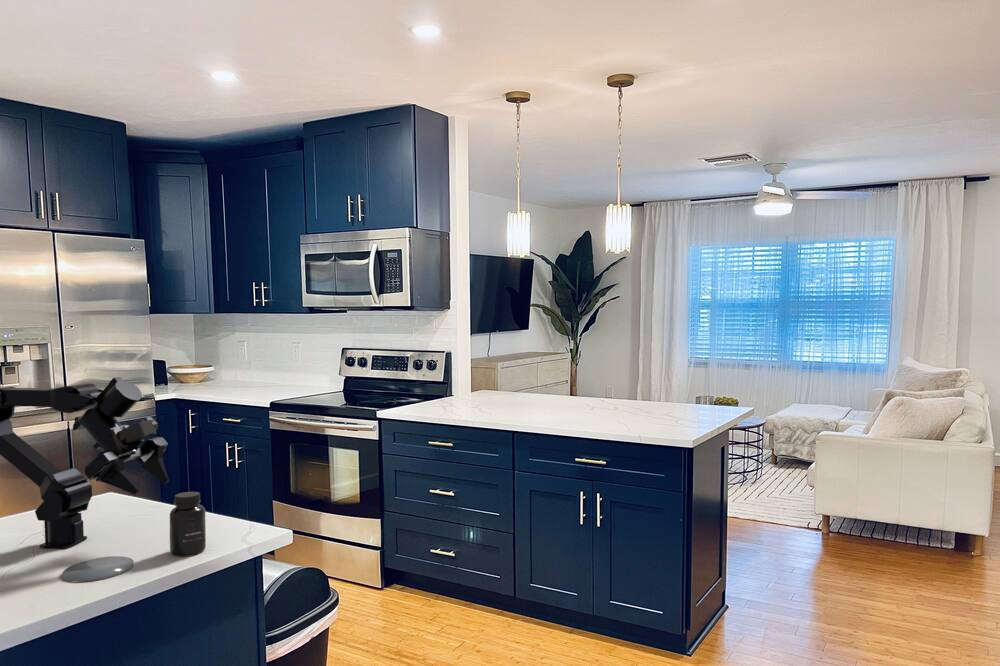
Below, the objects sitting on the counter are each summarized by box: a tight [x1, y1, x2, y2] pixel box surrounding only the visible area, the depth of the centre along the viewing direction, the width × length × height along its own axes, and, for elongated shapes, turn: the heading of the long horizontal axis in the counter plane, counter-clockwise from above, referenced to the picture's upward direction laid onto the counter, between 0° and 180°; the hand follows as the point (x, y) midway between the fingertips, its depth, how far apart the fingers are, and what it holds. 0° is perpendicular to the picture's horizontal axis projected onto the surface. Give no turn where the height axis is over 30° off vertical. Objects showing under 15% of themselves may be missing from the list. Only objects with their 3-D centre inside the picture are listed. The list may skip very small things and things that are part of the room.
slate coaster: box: [61, 555, 135, 582], centre depth 135 cm, size 12×12×1 cm
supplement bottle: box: [169, 491, 207, 557], centre depth 144 cm, size 7×7×12 cm
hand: (152, 487), depth 146 cm, fingers open, 9 cm apart
